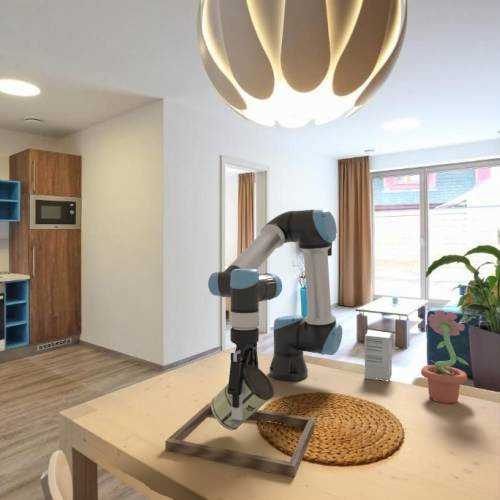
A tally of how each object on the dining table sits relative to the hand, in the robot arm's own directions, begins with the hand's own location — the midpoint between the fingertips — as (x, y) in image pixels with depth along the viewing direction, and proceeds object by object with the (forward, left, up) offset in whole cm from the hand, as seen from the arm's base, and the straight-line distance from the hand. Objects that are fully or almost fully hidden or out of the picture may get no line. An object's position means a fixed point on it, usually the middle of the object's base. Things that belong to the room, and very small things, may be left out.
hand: (244, 410), depth 103 cm
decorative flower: (+40, +59, -8) cm, 72 cm away
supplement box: (+15, +69, -8) cm, 71 cm away
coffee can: (-6, -1, -2) cm, 6 cm away
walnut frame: (0, 0, -8) cm, 8 cm away
